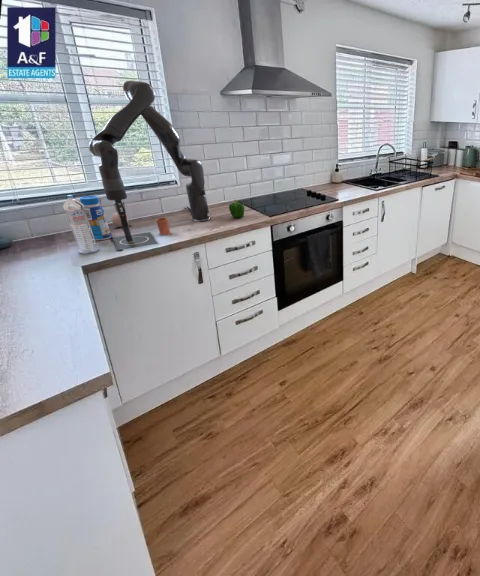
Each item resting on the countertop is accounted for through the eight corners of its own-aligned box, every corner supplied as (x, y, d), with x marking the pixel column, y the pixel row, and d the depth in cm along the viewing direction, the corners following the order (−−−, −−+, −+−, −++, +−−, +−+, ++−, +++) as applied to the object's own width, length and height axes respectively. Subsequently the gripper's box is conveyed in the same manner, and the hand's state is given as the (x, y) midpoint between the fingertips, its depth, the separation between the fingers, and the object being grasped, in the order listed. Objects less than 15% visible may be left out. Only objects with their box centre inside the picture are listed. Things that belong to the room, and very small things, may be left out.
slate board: (112, 238, 180) (112, 237, 180) (150, 233, 189) (149, 231, 189) (117, 251, 166) (117, 249, 166) (157, 244, 175) (157, 242, 175)
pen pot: (159, 233, 188) (155, 218, 185) (169, 232, 191) (166, 217, 188) (161, 236, 185) (157, 221, 182) (171, 234, 188) (168, 219, 184)
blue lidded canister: (89, 237, 180) (75, 196, 171) (109, 234, 186) (97, 194, 177) (93, 242, 175) (79, 200, 166) (114, 238, 181) (101, 197, 172)
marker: (126, 241, 175) (118, 215, 169) (132, 240, 176) (125, 214, 170) (127, 243, 173) (119, 216, 167) (133, 242, 174) (125, 215, 169)
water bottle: (78, 255, 160) (57, 197, 149) (81, 250, 166) (61, 194, 155) (97, 253, 163) (78, 196, 152) (99, 248, 169) (81, 193, 157)
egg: (133, 225, 200) (128, 209, 196) (125, 229, 193) (120, 213, 190) (119, 224, 199) (114, 209, 196) (111, 228, 193) (106, 213, 189)
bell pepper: (242, 219, 215) (240, 202, 211) (228, 218, 215) (226, 201, 211) (247, 215, 223) (245, 198, 218) (234, 214, 223) (231, 198, 218)
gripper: (126, 190, 161) (137, 228, 168) (122, 184, 170) (132, 221, 178) (105, 192, 156) (117, 231, 164) (102, 186, 166) (114, 223, 174)
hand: (125, 225), depth 171 cm, fingers closed on marker, 2 cm apart
